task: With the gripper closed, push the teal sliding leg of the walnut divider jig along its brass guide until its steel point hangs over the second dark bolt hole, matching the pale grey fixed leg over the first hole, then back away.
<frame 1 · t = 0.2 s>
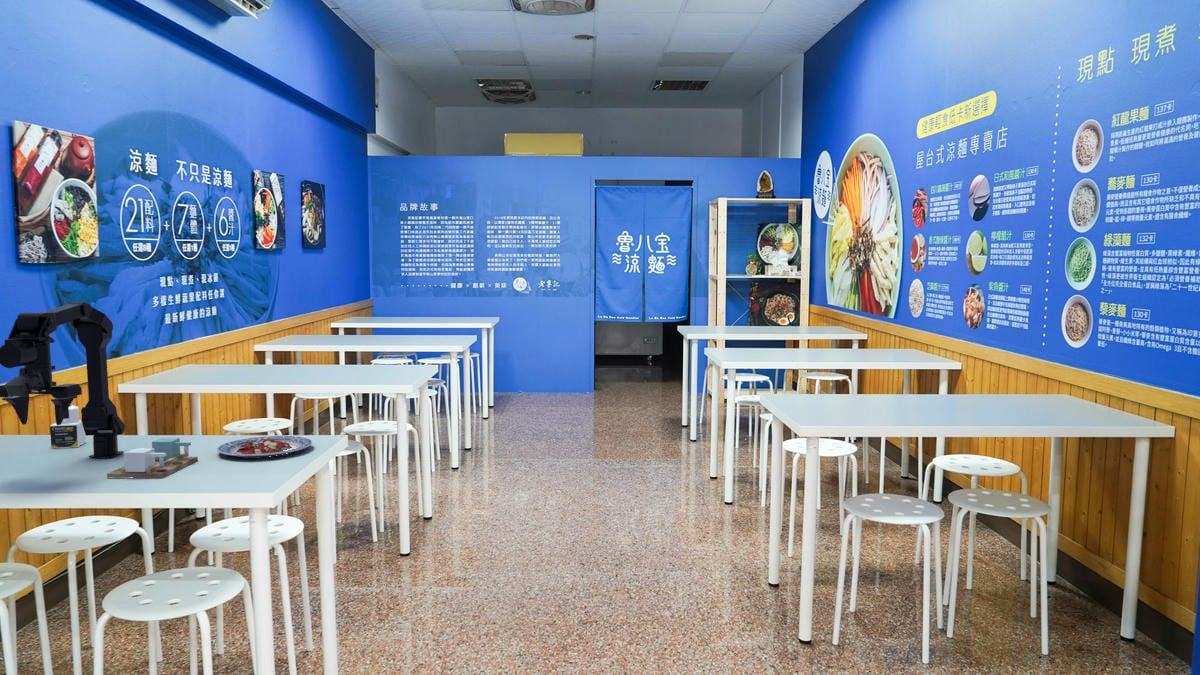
hand: (41, 424, 214), 14 cm above the table, tool pointing down, fingers open, 9 cm apart
medicine bottle: (68, 446, 255), on the table
sliding leg: (173, 449, 232), point 4 cm above the table, slide at 0.0 cm
fixed leg: (140, 475, 220), resting on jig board
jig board: (154, 469, 226), on the table
ceramic plate: (265, 453, 248), on the table
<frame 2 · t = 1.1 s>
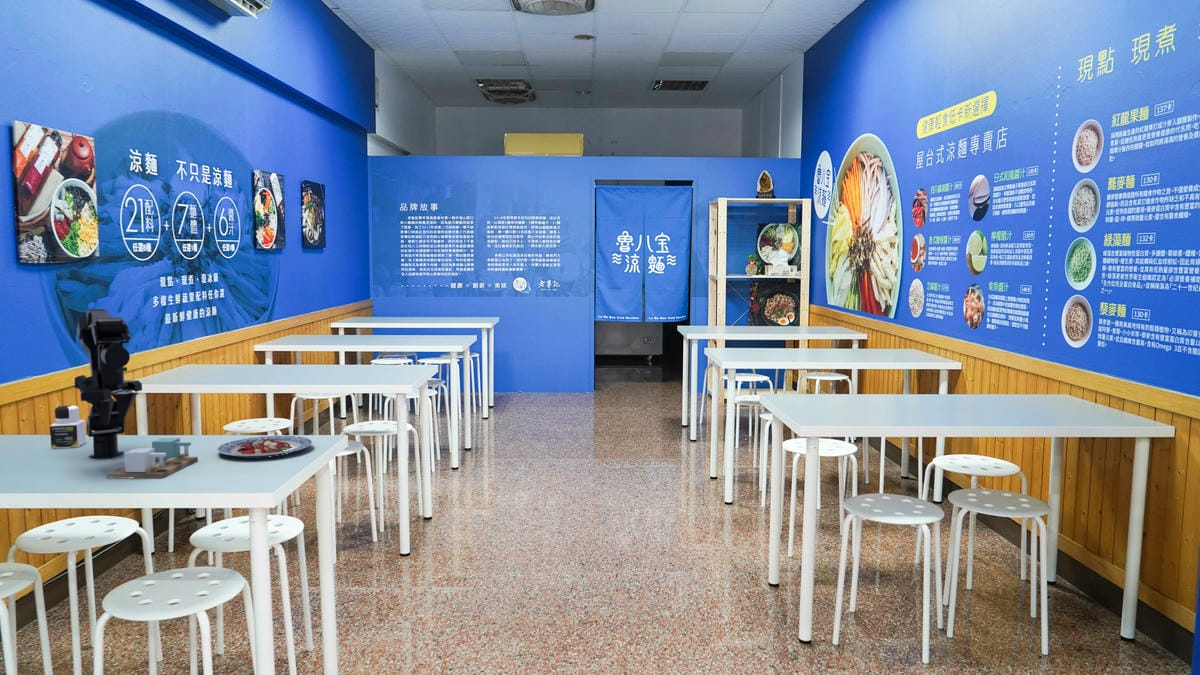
hand: (113, 422, 229), 12 cm above the table, tool pointing down, fingers open, 7 cm apart
nothing on the table moved.
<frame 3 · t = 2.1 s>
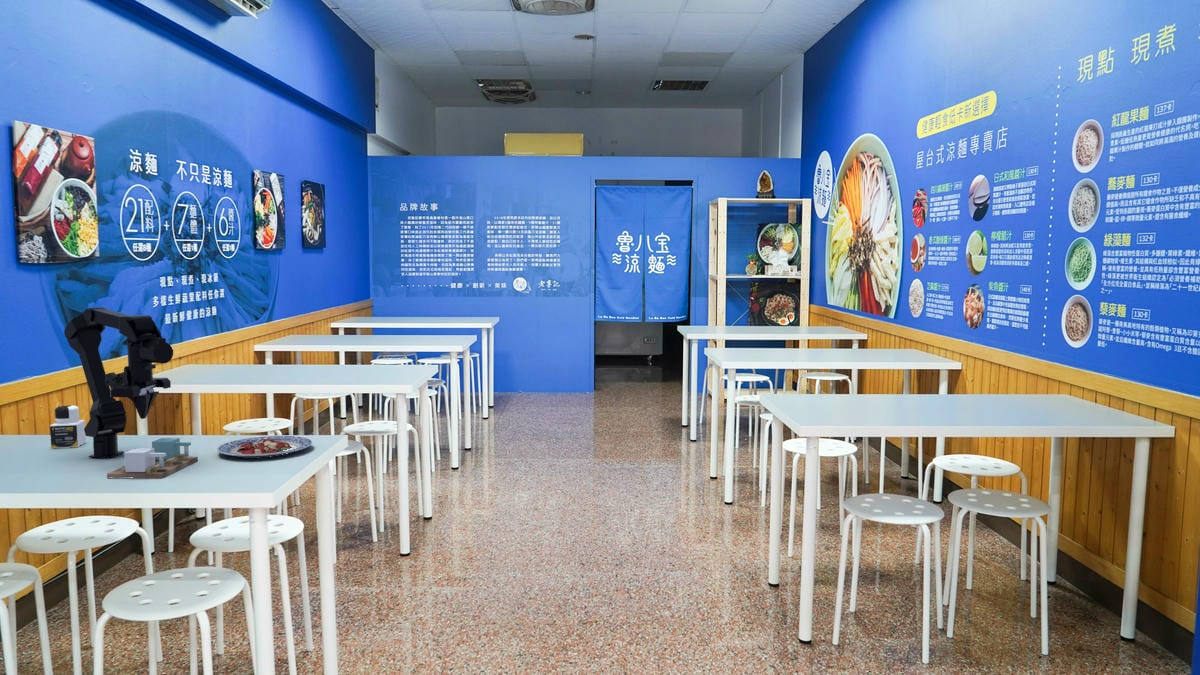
hand: (143, 418, 233), 12 cm above the table, tool pointing down, fingers closed
nothing on the table moved.
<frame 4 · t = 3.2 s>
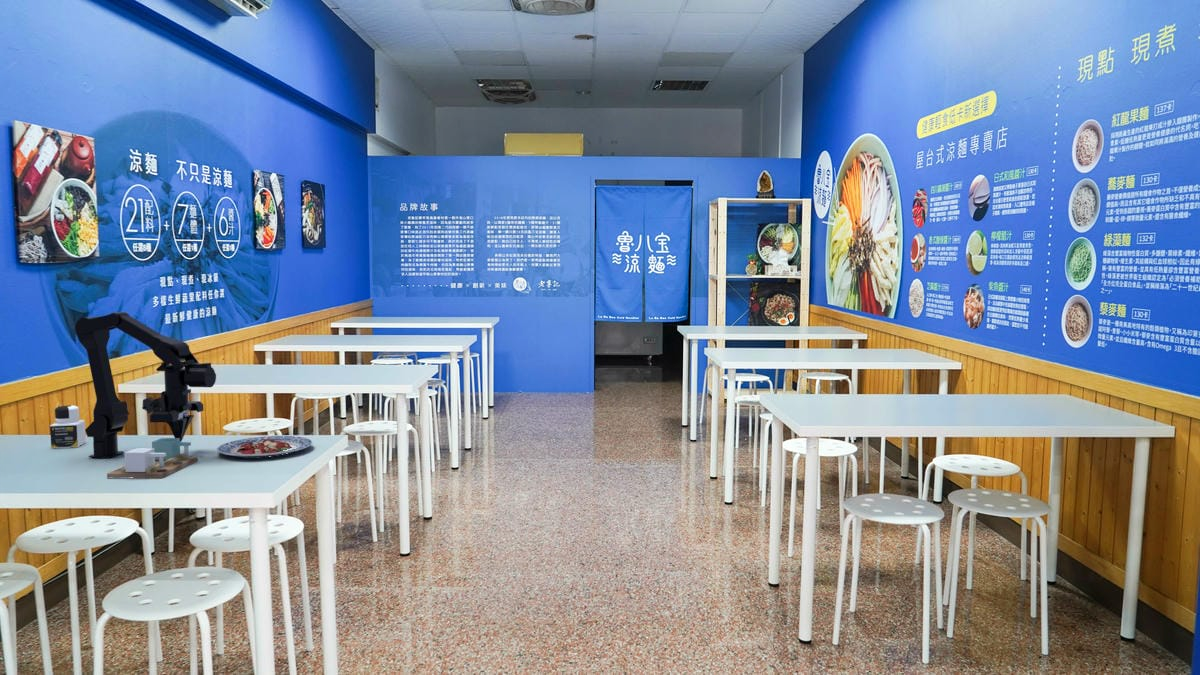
hand: (178, 441, 239), 4 cm above the table, tool pointing down, fingers closed
nothing on the table moved.
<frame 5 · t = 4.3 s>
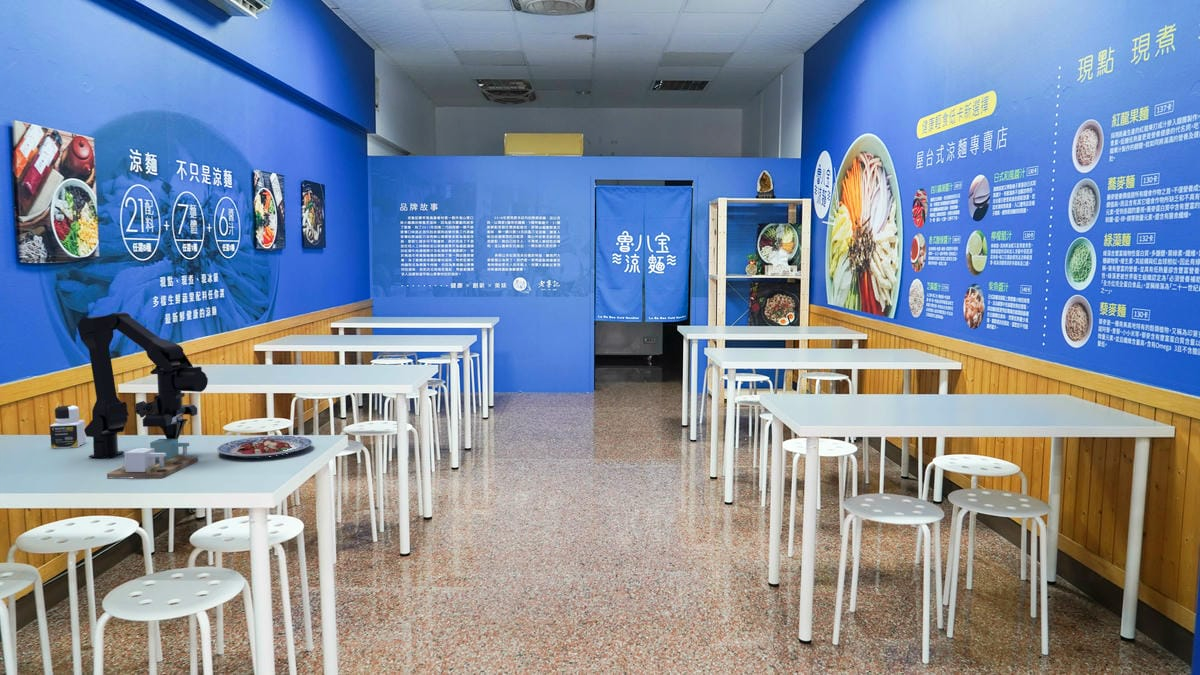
hand: (172, 446, 236), 4 cm above the table, tool pointing down, fingers closed
sliding leg: (171, 449, 232), point 4 cm above the table, slide at 0.9 cm, touching gripper
everything else where it was.
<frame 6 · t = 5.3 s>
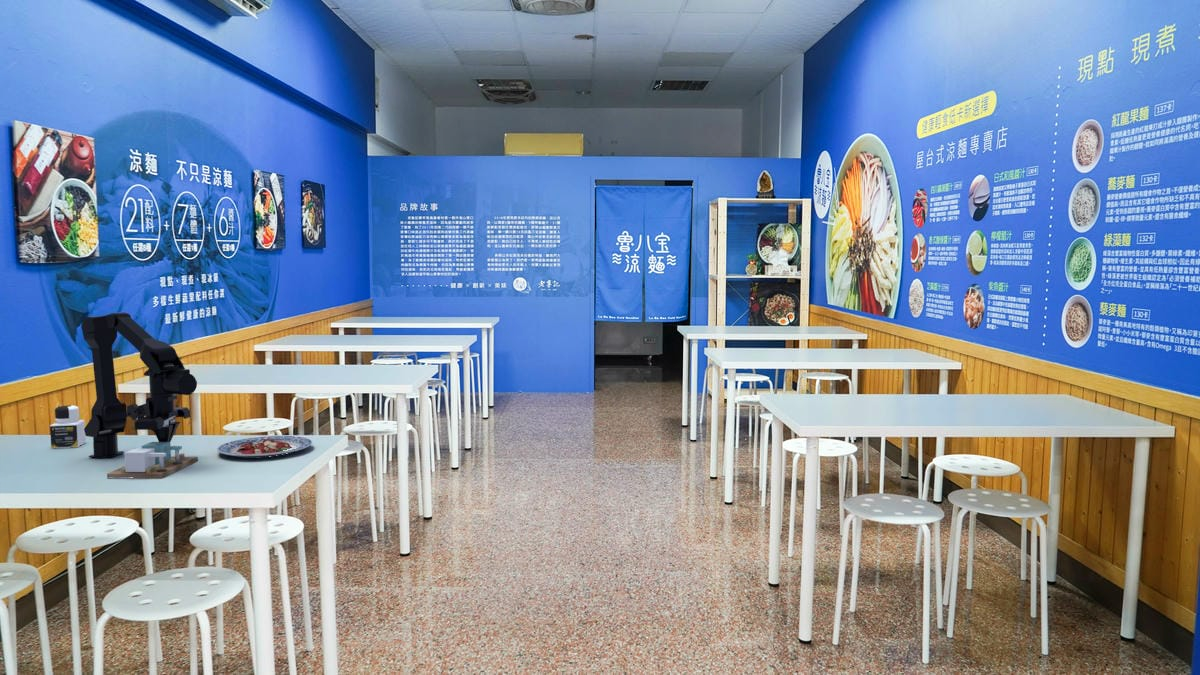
hand: (164, 449, 232), 4 cm above the table, tool pointing down, fingers closed
sliding leg: (164, 453, 228), point 4 cm above the table, slide at 5.0 cm, touching gripper
everything else where it was.
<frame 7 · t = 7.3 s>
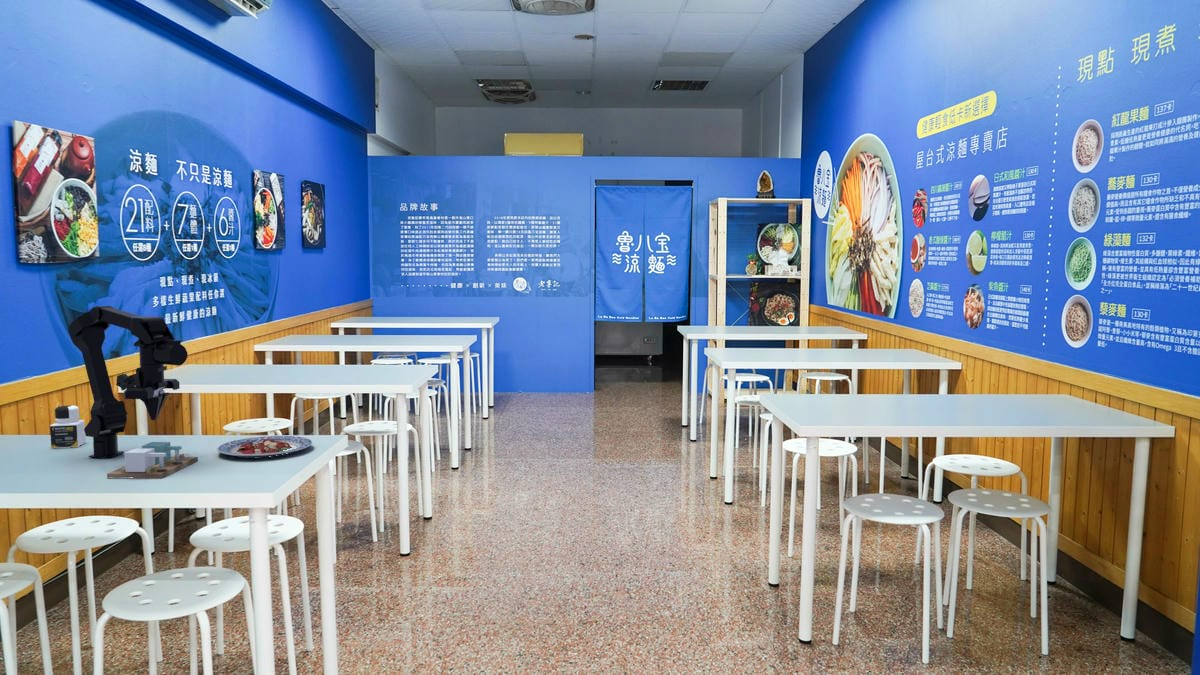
hand: (153, 419, 234), 12 cm above the table, tool pointing down, fingers closed
sliding leg: (163, 453, 227), point 4 cm above the table, slide at 5.0 cm
everything else where it was.
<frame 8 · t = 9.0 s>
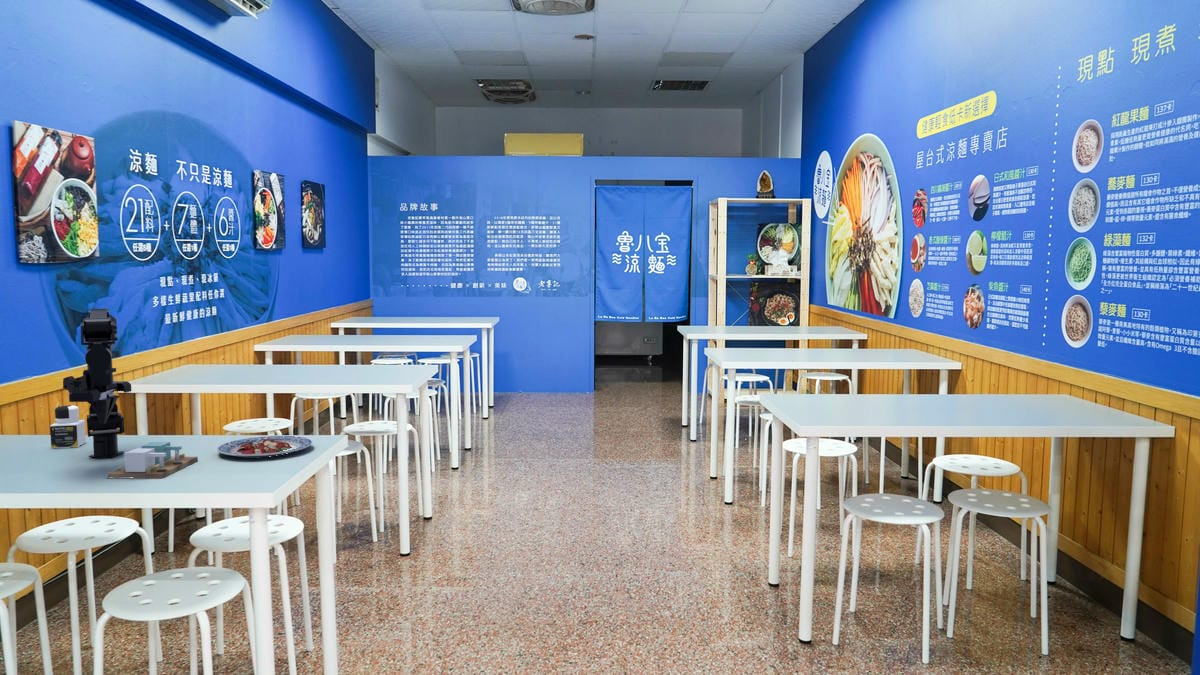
hand: (102, 423, 227), 12 cm above the table, tool pointing down, fingers closed
nothing on the table moved.
at the end: sliding leg slide at 5.0 cm; sliding leg touching nothing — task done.
